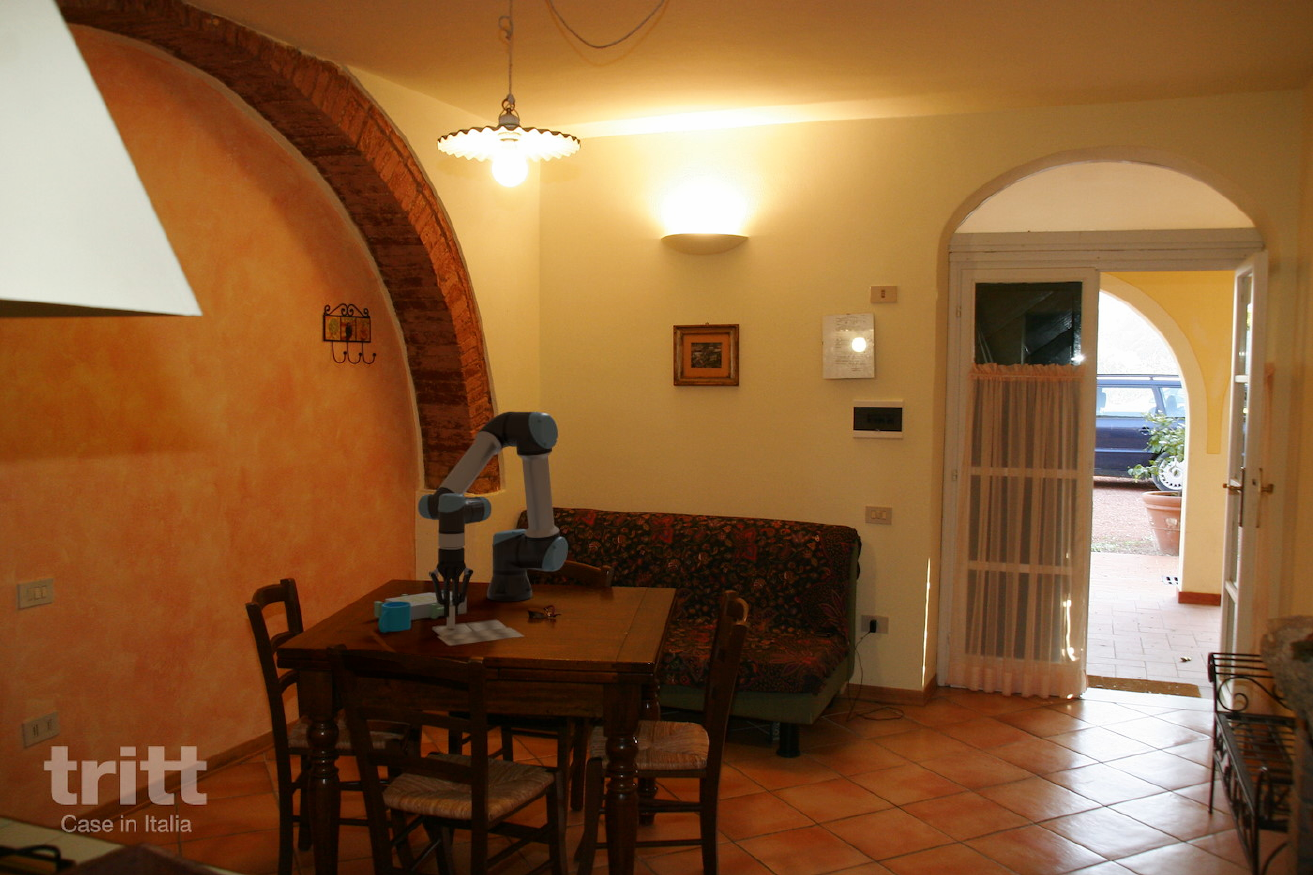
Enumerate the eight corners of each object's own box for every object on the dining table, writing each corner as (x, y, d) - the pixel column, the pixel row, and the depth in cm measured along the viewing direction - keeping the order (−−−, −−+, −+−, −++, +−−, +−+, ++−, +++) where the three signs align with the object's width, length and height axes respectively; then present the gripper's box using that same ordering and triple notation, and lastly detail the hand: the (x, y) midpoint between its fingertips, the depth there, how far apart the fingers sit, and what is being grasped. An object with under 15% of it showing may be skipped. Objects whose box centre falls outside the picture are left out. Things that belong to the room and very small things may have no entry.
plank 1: (440, 639, 267) (440, 635, 267) (432, 631, 274) (432, 626, 274) (473, 635, 272) (473, 631, 272) (464, 627, 279) (464, 623, 279)
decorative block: (441, 586, 311) (473, 596, 296) (441, 605, 311) (473, 616, 296) (368, 597, 293) (398, 608, 279) (368, 617, 294) (398, 629, 279)
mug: (393, 627, 281) (393, 600, 280) (416, 630, 278) (416, 602, 277) (367, 637, 269) (367, 608, 269) (391, 639, 267) (391, 611, 266)
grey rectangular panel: (474, 635, 272) (475, 631, 272) (465, 627, 279) (466, 623, 279) (506, 631, 277) (507, 627, 277) (497, 623, 284) (497, 619, 284)
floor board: (510, 631, 277) (510, 627, 277) (524, 640, 268) (524, 635, 268) (436, 640, 266) (436, 636, 266) (449, 649, 257) (449, 645, 256)
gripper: (468, 543, 279) (468, 622, 280) (425, 546, 272) (424, 627, 274) (477, 547, 273) (476, 627, 274) (433, 550, 266) (432, 632, 267)
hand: (450, 627), depth 274 cm, fingers closed
